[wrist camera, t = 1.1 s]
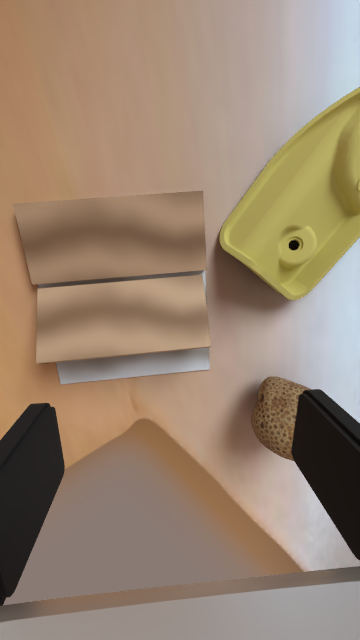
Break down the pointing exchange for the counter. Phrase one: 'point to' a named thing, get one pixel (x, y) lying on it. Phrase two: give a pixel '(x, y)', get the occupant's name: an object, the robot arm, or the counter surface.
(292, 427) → the natural sponge
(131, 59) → the counter surface
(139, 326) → the plank
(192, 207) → the laid floor
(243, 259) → the plastic component
